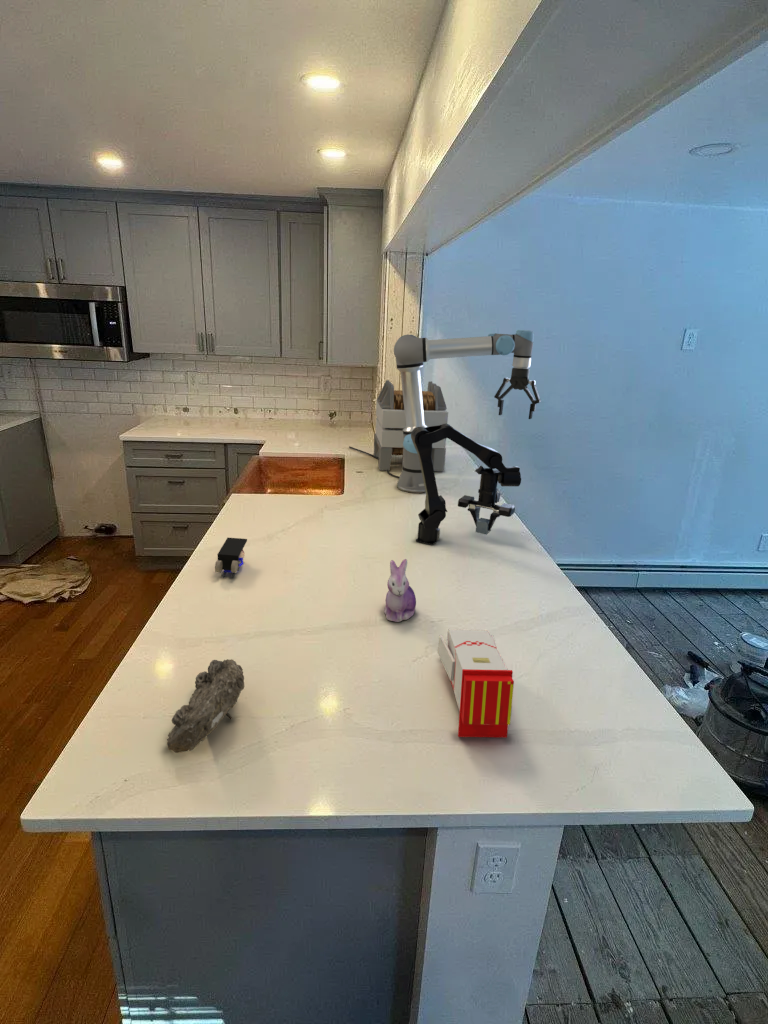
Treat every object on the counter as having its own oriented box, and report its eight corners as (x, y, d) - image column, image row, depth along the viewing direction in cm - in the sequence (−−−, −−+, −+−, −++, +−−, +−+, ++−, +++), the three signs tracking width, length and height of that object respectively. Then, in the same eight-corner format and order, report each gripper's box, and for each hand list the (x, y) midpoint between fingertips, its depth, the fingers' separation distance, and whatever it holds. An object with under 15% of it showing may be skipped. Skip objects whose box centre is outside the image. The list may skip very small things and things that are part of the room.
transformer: (372, 454, 306) (375, 377, 292) (432, 454, 310) (437, 379, 296) (379, 471, 275) (382, 386, 261) (445, 472, 278) (452, 388, 265)
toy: (488, 613, 130) (523, 677, 101) (484, 667, 133) (517, 744, 104) (435, 612, 130) (455, 676, 101) (432, 666, 133) (451, 743, 103)
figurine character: (238, 584, 162) (249, 557, 175) (236, 562, 158) (247, 536, 172) (215, 584, 161) (227, 556, 175) (212, 561, 158) (225, 535, 171)
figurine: (392, 627, 141) (395, 572, 136) (374, 608, 149) (376, 556, 144) (425, 619, 145) (429, 566, 140) (405, 601, 154) (408, 550, 149)
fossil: (192, 660, 117) (244, 628, 112) (224, 691, 120) (276, 661, 115) (142, 746, 98) (202, 712, 93) (182, 779, 101) (242, 748, 96)
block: (486, 534, 195) (488, 523, 193) (475, 532, 196) (476, 521, 195) (490, 531, 198) (492, 519, 197) (479, 528, 200) (480, 517, 199)
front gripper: (522, 485, 194) (516, 527, 200) (470, 476, 202) (466, 516, 208) (512, 493, 185) (506, 537, 190) (459, 483, 193) (455, 526, 198)
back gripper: (552, 369, 241) (545, 419, 249) (496, 364, 253) (491, 412, 260) (547, 370, 235) (540, 421, 243) (490, 365, 247) (485, 414, 254)
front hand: (483, 529), depth 197 cm, fingers closed on block, 4 cm apart
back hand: (515, 416), depth 251 cm, fingers open, 13 cm apart
